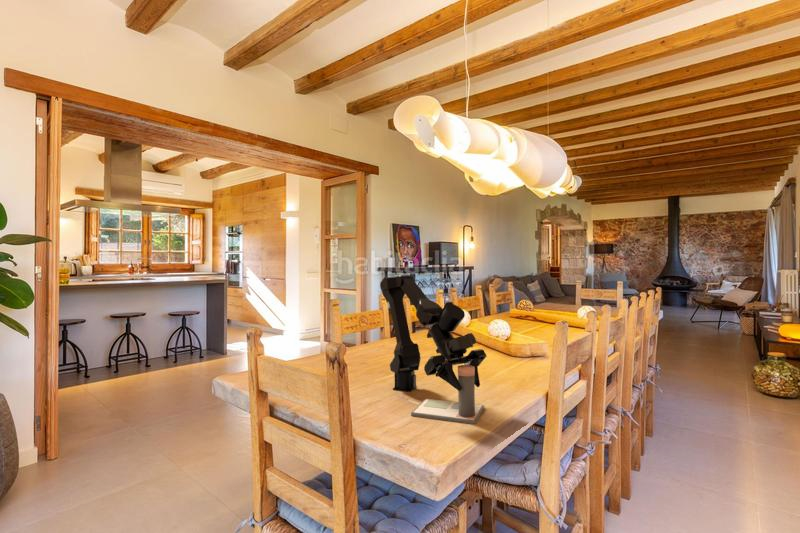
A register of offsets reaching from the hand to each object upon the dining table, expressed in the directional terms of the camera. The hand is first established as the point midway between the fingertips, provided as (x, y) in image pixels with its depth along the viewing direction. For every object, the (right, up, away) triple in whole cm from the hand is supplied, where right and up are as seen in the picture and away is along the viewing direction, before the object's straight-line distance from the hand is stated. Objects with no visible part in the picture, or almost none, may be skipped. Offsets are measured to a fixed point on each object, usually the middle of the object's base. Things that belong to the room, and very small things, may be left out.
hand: (469, 388), depth 112 cm
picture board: (-5, -9, +6) cm, 12 cm away
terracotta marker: (-1, -8, +1) cm, 8 cm away
